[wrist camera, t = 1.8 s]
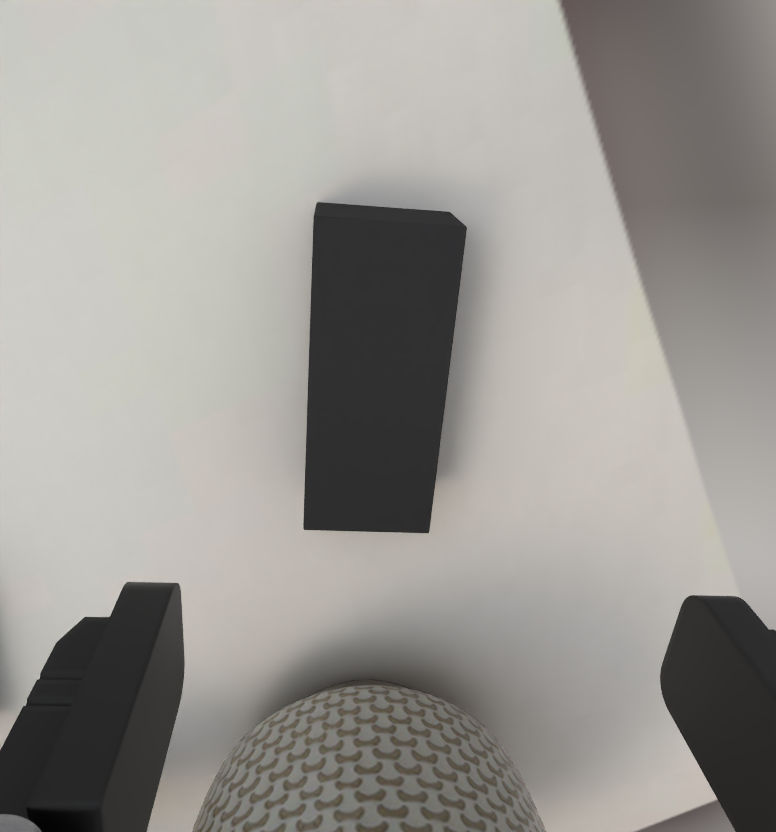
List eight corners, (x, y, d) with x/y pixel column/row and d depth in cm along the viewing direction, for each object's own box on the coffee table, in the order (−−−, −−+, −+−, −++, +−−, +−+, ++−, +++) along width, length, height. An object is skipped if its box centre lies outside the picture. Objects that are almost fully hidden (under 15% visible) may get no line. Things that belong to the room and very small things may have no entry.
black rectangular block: (419, 488, 30) (428, 533, 27) (306, 485, 30) (303, 530, 26) (450, 211, 25) (467, 226, 22) (316, 202, 25) (313, 215, 22)
